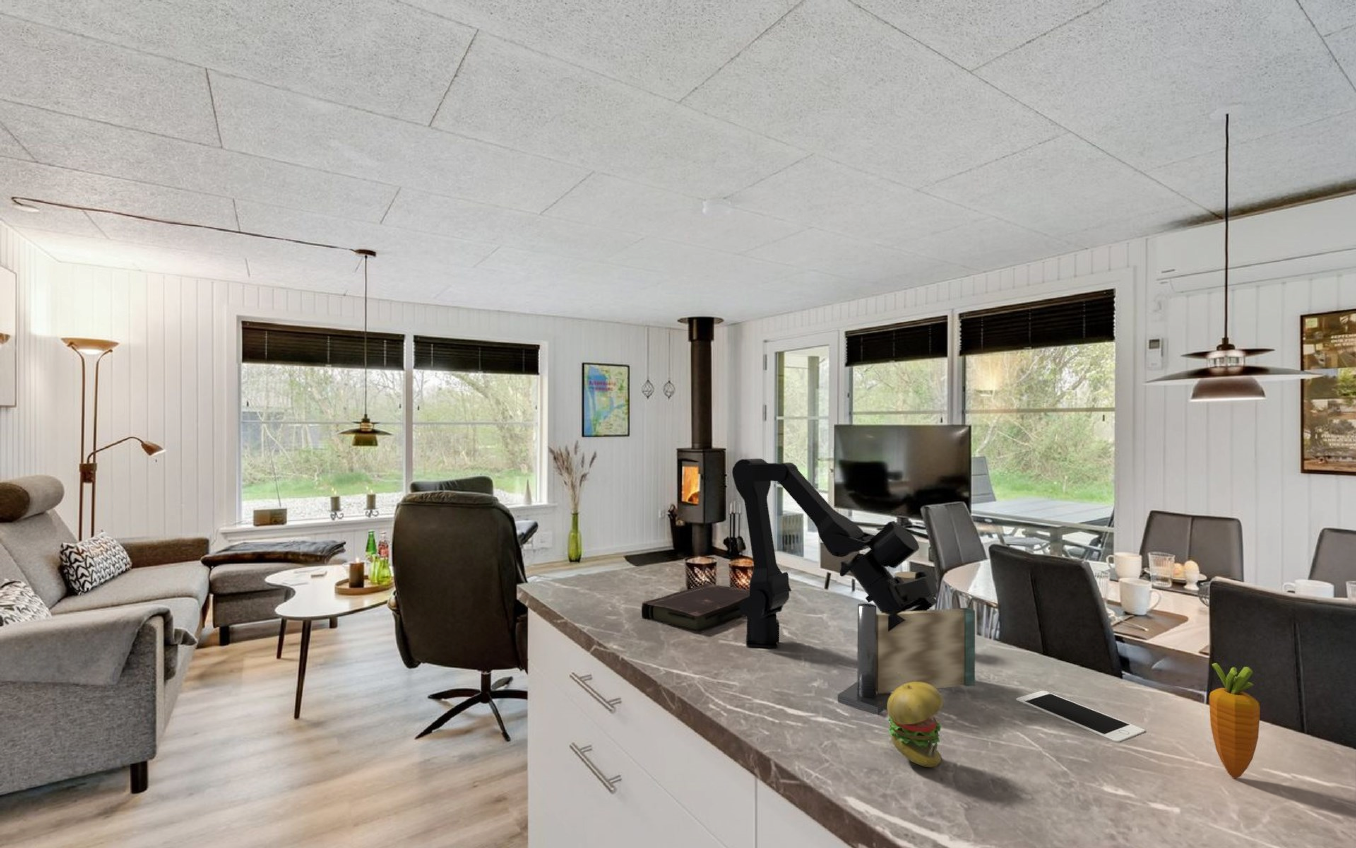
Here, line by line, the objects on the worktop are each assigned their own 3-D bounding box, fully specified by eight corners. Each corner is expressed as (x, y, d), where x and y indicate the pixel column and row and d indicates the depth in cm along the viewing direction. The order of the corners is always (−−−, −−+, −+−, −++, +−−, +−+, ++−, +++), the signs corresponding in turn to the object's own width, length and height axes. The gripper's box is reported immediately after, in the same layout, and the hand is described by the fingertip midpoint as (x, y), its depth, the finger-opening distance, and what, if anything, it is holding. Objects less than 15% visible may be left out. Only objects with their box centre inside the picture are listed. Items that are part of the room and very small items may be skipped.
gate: (879, 693, 103) (879, 615, 103) (873, 689, 105) (873, 612, 105) (974, 685, 107) (975, 610, 107) (967, 681, 109) (968, 607, 109)
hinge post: (877, 714, 99) (878, 614, 99) (837, 701, 103) (838, 606, 104) (895, 700, 104) (895, 605, 104) (856, 689, 109) (856, 598, 109)
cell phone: (1117, 745, 90) (1117, 741, 90) (1014, 702, 105) (1014, 698, 105) (1146, 734, 94) (1146, 730, 94) (1043, 693, 108) (1043, 690, 108)
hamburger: (949, 779, 81) (949, 687, 81) (891, 773, 82) (892, 682, 82) (935, 749, 88) (935, 665, 88) (882, 744, 89) (883, 661, 90)
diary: (640, 621, 149) (640, 600, 149) (705, 600, 168) (705, 581, 168) (699, 637, 137) (699, 614, 137) (762, 613, 155) (762, 592, 156)
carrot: (1199, 768, 84) (1199, 657, 84) (1232, 767, 84) (1232, 657, 84) (1235, 790, 79) (1235, 672, 79) (1271, 788, 79) (1270, 671, 79)
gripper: (887, 565, 104) (953, 647, 97) (928, 550, 118) (988, 621, 111) (843, 601, 109) (902, 682, 102) (886, 583, 123) (941, 653, 116)
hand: (936, 658), depth 108 cm, fingers closed
